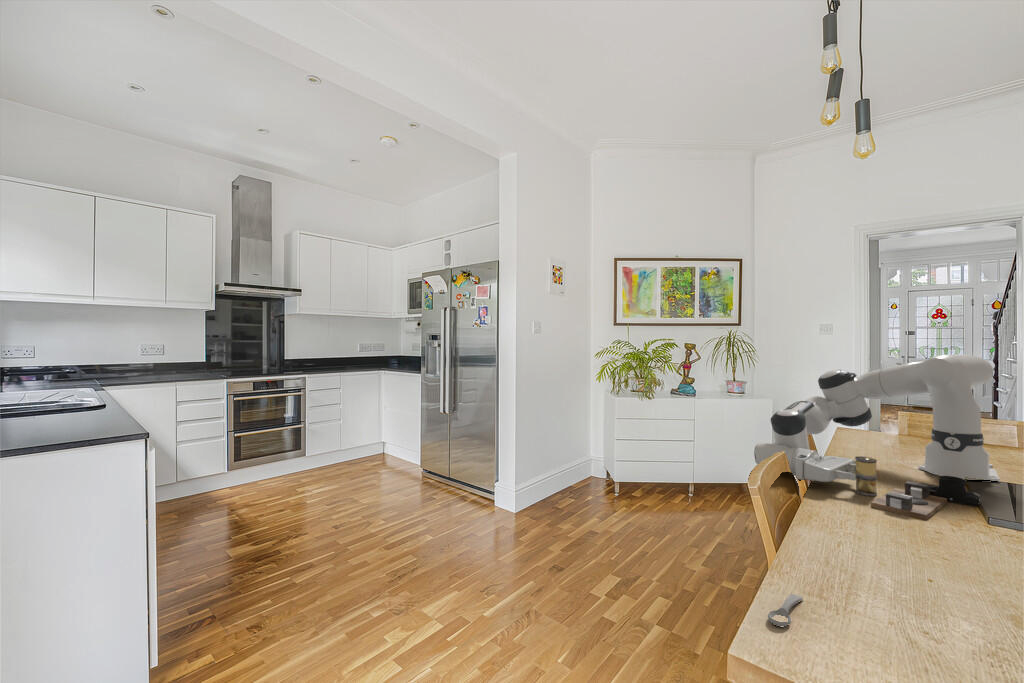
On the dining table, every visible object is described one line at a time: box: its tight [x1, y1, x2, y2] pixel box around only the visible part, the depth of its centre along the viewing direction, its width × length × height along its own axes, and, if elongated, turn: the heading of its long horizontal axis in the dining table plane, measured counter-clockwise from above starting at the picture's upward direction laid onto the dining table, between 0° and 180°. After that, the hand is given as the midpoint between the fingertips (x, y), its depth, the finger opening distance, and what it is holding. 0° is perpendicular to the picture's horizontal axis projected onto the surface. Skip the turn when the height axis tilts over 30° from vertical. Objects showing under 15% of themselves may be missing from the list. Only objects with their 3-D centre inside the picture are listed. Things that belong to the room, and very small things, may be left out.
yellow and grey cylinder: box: [854, 455, 878, 497], centre depth 129 cm, size 5×5×10 cm
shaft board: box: [870, 480, 948, 521], centre depth 120 cm, size 20×11×4 cm, turn 126°
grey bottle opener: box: [767, 593, 804, 627], centre depth 73 cm, size 3×12×2 cm, turn 134°
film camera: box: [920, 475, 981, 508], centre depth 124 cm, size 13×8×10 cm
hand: (862, 474), depth 130 cm, fingers open, 8 cm apart
